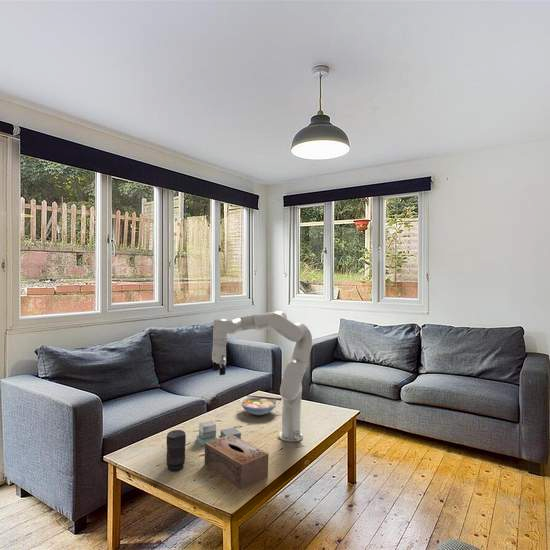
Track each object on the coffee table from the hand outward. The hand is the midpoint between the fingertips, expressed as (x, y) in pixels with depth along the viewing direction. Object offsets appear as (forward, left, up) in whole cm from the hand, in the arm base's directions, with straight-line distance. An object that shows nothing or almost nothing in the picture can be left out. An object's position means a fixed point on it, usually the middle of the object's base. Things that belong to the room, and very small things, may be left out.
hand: (218, 372), depth 211 cm
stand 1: (-14, +11, -30) cm, 35 cm away
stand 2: (-14, -2, -30) cm, 33 cm away
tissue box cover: (-46, +10, -31) cm, 56 cm away
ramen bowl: (+9, -30, -31) cm, 44 cm away
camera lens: (-32, +32, -31) cm, 55 cm away
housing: (-14, +11, -28) cm, 33 cm away
